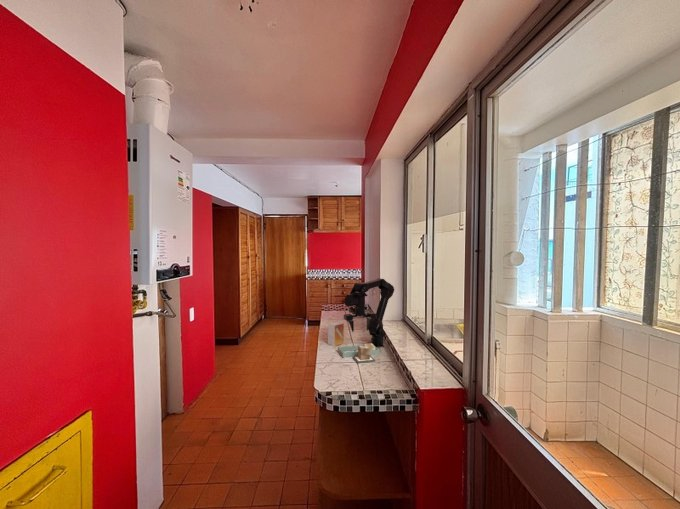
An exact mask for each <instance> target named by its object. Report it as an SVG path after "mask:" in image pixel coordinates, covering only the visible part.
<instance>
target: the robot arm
mask: <svg viewBox="0 0 680 509" xmlns="http://www.w3.org/2000/svg"><path fill="white" fill-rule="evenodd" d="M374 288H378V289H379V293H380V294H379V295H380V299H379V302H378V306H377V309H376V312H373V311H371V312H370V311H369V312H366V309H367V307H366V297H368V294H367V292H369V290H371V289H374ZM350 290H351V291H350V293H349V294H346V296H345V298H344V299H343V303H344V305H345V307H349V308H348V312H349V313H344V315H343V320H345V321H347V322H348V324H349V326H350V329H351V332H352V333H353V332H354V324H355V323H354V319H362V318H366V331H368V332H369V335H370V336H371V337H370V343H372V344H373V345H374V346H375V347H376V348H383V347H385V345H384V338H385V337H386V331H385V330H384V325H383V324H384V323H383V319H384V316H385V313H386V309H387V306H388V303H389V299H391V298H392V296H393V294H394V292H395V287H394V285H392V284H391V283H390V282H388V281H386V279H385V278H377V279H373V280H370V281H366V282H355V283H354V284H353V287H352V289H350ZM353 306H354V307H353Z"/></svg>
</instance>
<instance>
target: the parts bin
mask: <svg viewBox="0 0 680 509" xmlns="http://www.w3.org/2000/svg"><path fill="white" fill-rule="evenodd" d="M358 346H364V344H361V345H350V346H349V345H348V346H339V347H337V352H338V355H340V356H341V357H342V358H345V357H346V358H353V357H356V356H358ZM375 355H380V349H379V347H375V350H370V356H375Z"/></svg>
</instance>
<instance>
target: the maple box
mask: <svg viewBox="0 0 680 509" xmlns="http://www.w3.org/2000/svg"><path fill="white" fill-rule="evenodd" d="M363 345H364V346H366V345H367V346H368V347H369V348H370V350H375V346H374V345H373V344H372V343H371V342H370V343H363Z"/></svg>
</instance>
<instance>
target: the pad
mask: <svg viewBox="0 0 680 509" xmlns="http://www.w3.org/2000/svg"><path fill="white" fill-rule="evenodd" d="M352 360H353V361H355V363H357V364H366V363H367V364H368V363H376V359H375V358H373V357H372V355H370V359H369V360H360V359H359V358H358V356H356V357H352Z"/></svg>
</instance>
